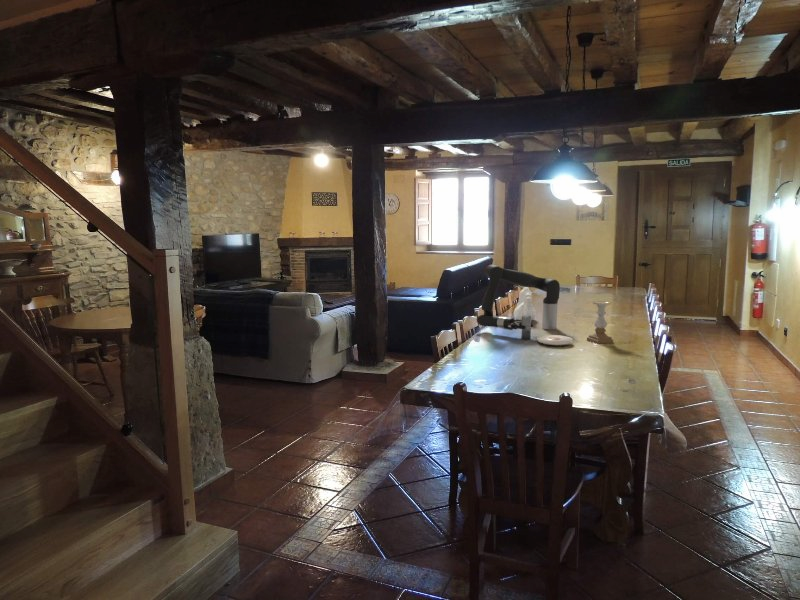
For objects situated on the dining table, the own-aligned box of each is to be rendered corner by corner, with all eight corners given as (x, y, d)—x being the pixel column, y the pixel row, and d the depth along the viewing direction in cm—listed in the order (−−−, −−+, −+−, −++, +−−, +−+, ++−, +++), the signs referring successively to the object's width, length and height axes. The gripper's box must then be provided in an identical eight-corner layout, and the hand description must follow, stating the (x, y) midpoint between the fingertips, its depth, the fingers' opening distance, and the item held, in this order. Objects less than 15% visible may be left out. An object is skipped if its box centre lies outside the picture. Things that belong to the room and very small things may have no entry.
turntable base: (544, 340, 339) (544, 337, 339) (568, 342, 333) (568, 339, 333) (540, 345, 326) (540, 342, 326) (565, 347, 321) (565, 344, 320)
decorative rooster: (514, 317, 415) (515, 284, 411) (536, 318, 411) (537, 284, 407) (511, 323, 391) (512, 288, 388) (534, 324, 387) (536, 289, 383)
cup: (522, 337, 346) (522, 315, 344) (531, 338, 344) (531, 316, 342) (520, 339, 341) (521, 316, 339) (529, 340, 339) (530, 317, 337)
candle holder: (586, 340, 338) (588, 301, 335) (601, 339, 341) (603, 300, 338) (598, 344, 328) (599, 303, 324) (613, 342, 331) (615, 302, 328)
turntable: (540, 336, 343) (540, 333, 342) (574, 339, 335) (574, 336, 334) (534, 343, 325) (534, 340, 324) (570, 346, 317) (570, 343, 316)
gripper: (499, 318, 346) (522, 322, 334) (512, 315, 356) (535, 318, 345) (499, 330, 347) (522, 334, 336) (512, 327, 357) (534, 330, 346)
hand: (528, 326), depth 340 cm, fingers open, 8 cm apart
